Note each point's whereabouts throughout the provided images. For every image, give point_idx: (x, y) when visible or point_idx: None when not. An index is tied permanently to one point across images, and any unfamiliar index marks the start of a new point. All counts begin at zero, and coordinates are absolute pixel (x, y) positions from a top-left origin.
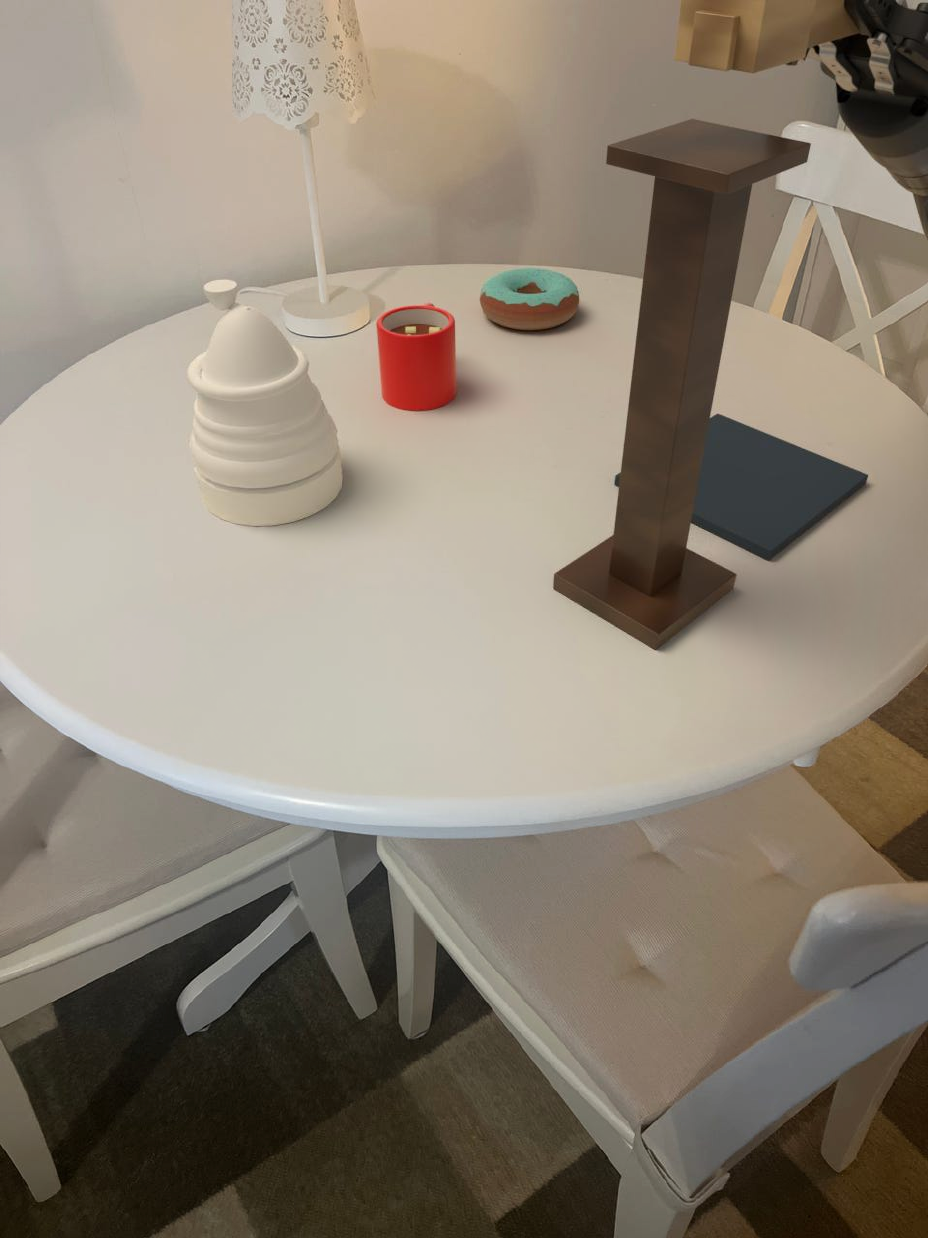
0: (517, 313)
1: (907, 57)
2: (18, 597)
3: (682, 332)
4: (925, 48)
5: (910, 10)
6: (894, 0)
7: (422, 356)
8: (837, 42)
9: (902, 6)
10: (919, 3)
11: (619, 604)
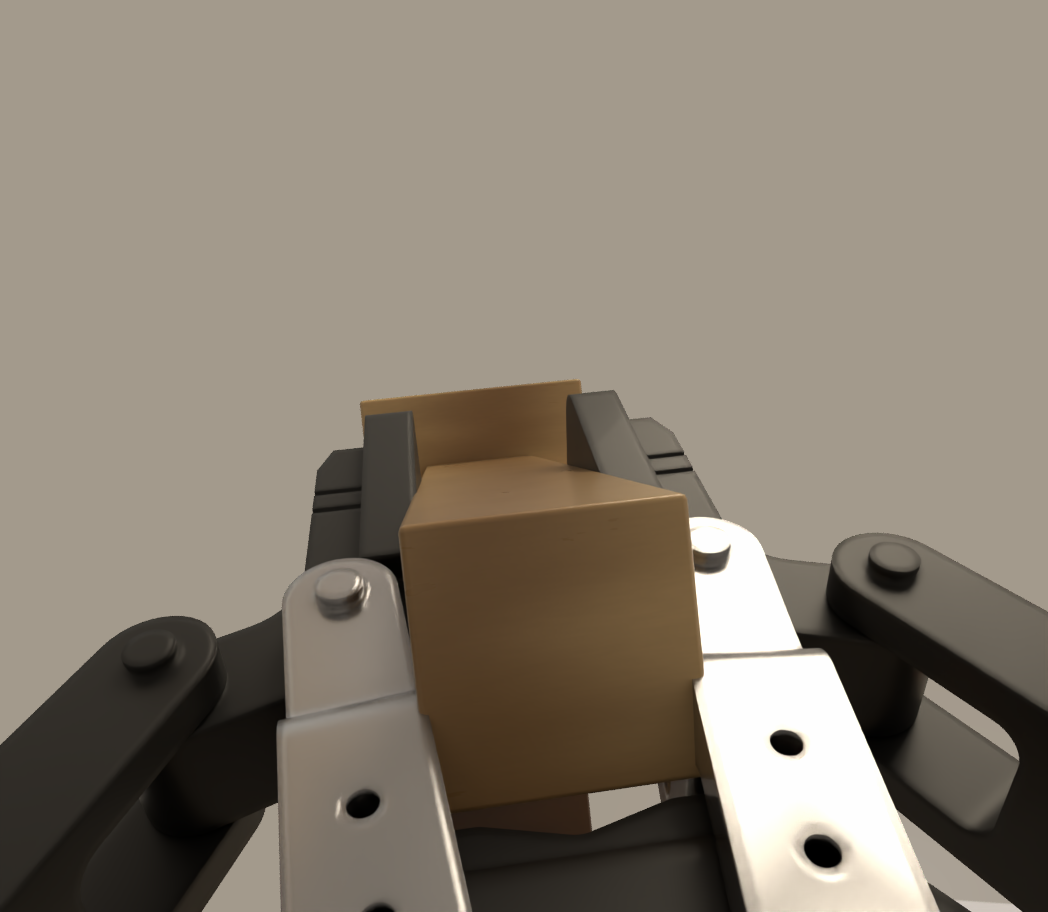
0: None
1: (220, 880)
2: (969, 905)
3: None
4: (119, 825)
5: (235, 635)
6: (307, 568)
7: None
8: (665, 797)
9: (280, 613)
10: (204, 625)
11: None
